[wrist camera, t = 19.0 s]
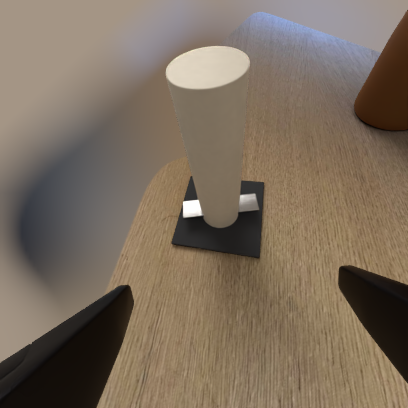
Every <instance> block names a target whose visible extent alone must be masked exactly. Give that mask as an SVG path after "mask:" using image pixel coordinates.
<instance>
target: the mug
mask: <svg viewBox="0 0 408 408" xmlns="http://www.w3.org/2000/svg"><path fill="white" fill-rule="evenodd" d="M354 110H355V113H356V114H357V116H358V117H359V118H360V119H361V120H363V121H364V122H366V123H367V124H369V125H371V126H374V127H377V128H380V129H385V130H407V129H408V10H407V12H406V13H405V15H404V16H403V18H402V20H401V21H400V23H399V24H398V26H397V27H396V29H395V30H394V32H393V34H392V35H391V37H390V39H389V40H388V42H387V44H386V46H385V48H384V49H383V51H382V53H381V55H380V56H379V58H378V60H377V62H376V63H375V65H374V67H373V69H372V71H371V72H370V74H369V76H368V78H367V80H366V82H365V83H364V85H363V87H362V89H361V90H360V92H359V94H358V96H357V98H356V100H355V103H354Z"/></svg>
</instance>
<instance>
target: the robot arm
mask: <svg viewBox="0 0 408 408" xmlns="http://www.w3.org/2000/svg"><path fill="white" fill-rule="evenodd" d="M338 285H339V288H340V290H341V292H342V294H343V295H344V297H345V298H346V300H347V301H348V303H349V304H350V306H351V308H352V309H353V311H354V312H355V314H356V315H357V317H358V319H359V320H360V322H361V323H362V325H363V326H364V327H365V329H366V330H367V331H368V333H369V334H370V335H371V337H372V338H373V339H374V341H375V342H376V343H377V344H378V346H379V347H380V348H381V350H382V351H383V352H384V353H385V355H386V356H387V357H388V359H389V360H390V361H391V363H392V364H393V365H394V366H395V368H396V369H397V370H398V372H399V373H400V374H401V376H402V377H403V378H404V379H405V381H406V382H407V383H408V285H406V284H403V283H401V282H398V281H395V280H392V279H389V278H386V277H383V276H380V275H377V274H375V273H372V272H369V271H366V270H363V269H360V268H357V267H354V266H351V265H348V266H341V267H340V268H339V277H338ZM133 306H134V299H133V295H132V291H131V288H130V286H129V285H121V286H118V287H117V288H115V289H114V290H112V291H111V292H109V293H108V294H106V295H105V296H103V297H102V298H100V299H98V300H97V301H95V302H94V303H92V304H91V305H89V306H88V307H86V308H85V309H83V310H81V311H80V312H78V313H77V314H75V315H74V316H72V317H71V318H69V319H68V320H66V321H64V322H63V323H61V324H60V325H58V326H57V327H55V328H54V329H52V330H51V331H49V332H48V333H46V334H44V335H43V336H41V337H40V338H38V339H37V340H35V341H34V342H32V344H29V345H27V346H26V347H25V348H23V349H21V350H20V351H18V352H17V353H15V354H13V355H12V356H10V357H9V358H7V359H5V360H4V361H2V362H1V363H0V408H97V405H98V403H99V400H100V398H101V395H102V393H103V390H104V388H105V385H106V383H107V380H108V378H109V375H110V373H111V370H112V368H113V365H114V363H115V360H116V358H117V355H118V353H119V350H120V348H121V345H122V343H123V340H124V337H125V333H126V330H127V327H128V323H129V320H130V316H131V313H132V310H133Z"/></svg>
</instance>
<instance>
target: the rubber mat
mask: <svg viewBox="0 0 408 408" xmlns="http://www.w3.org/2000/svg"><path fill="white" fill-rule="evenodd" d="M263 189H264V182H253V181H241V188H240V195H246V194H254V193H255V194H256V198H257V203H258V207H259V211H258V212H249V213H240V214H238V217H237V219H236V221H235V222H234V223H233V224H231V225H230V226H228V227H225V228H216V227H212V226H210V225H209V224H208V223H206V221H205V220H204V218H194V219H185V220H184V219H183V205H182V208H181V212H180V215H179V219H178V222H177V226H176V229H175V232H174V236H173V239H172V244H175V245H181V246H187V247H193V248H200V249H206V250H212V251H218V252H224V253H231V254H237V255H243V256H249V257H255V258H259V257H260V240H261V223H262V206H263ZM193 200H198V196H197V193H196V189H195V185H194V181H193V177H192V176H191V177H190V181H189V184H188V188H187V191H186V195H185V198H184V202H185V201H193Z"/></svg>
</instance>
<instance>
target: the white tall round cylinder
mask: <svg viewBox="0 0 408 408" xmlns="http://www.w3.org/2000/svg"><path fill="white" fill-rule="evenodd" d="M249 72H250V60H249V58H248V56H247V55H246V54H245V53H244V52H242V51H240V50H238V49H235V48H231V47H225V46H210V47H203V48H198V49H194V50H191V51H189V52H186V53H184V54H182V55H180V56H178V57H177V58H175V59H174V60H173V61H172V62H171V63H170V64H169V65H168V67H167V69H166V78H167V82H168V86H169V90H170V94H171V98H172V101H173V105H174V109H175V113H176V116H177V120H178V124H179V128H180V132H181V135H182V139H183V143H184V147H185V151H186V155H187V158H188V162H189V166H190V170H191V174H192V177H193V181H194V185H195V189H196V193H197V196H198V200H193V201H185V202H183V219H184V220H185V219H194V218H204V220H205V221H206V223H208V224H209V225H210V226H212V227H216V228H225V227H228V226H230V225H231V224H233V223H234V222H235V221H236V219H237V217H238V214H240V213H249V212H258V211H259V207H258V203H257V198H256V194H255V193H254V194H246V195H240V188H241V175H242V162H243V149H244V137H245V124H246V111H247V98H248V85H249Z"/></svg>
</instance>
